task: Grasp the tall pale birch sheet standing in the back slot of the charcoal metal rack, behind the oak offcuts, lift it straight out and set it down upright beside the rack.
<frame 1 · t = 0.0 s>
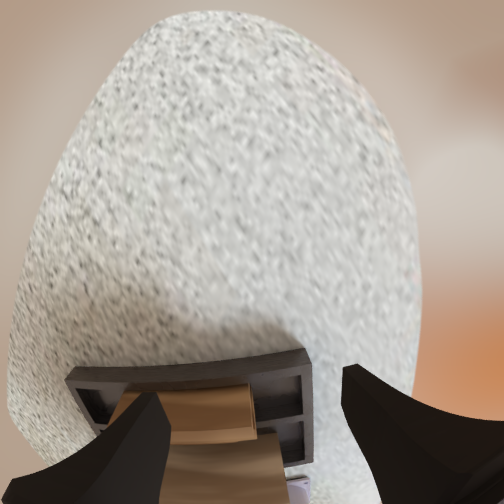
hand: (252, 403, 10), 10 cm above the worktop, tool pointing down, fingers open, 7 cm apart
oak offcuts: (184, 397, 20), point 1 cm above the worktop, touching rack
birch sheet: (203, 444, 22), point 1 cm above the worktop, touching rack
rack: (196, 420, 22), on the worktop
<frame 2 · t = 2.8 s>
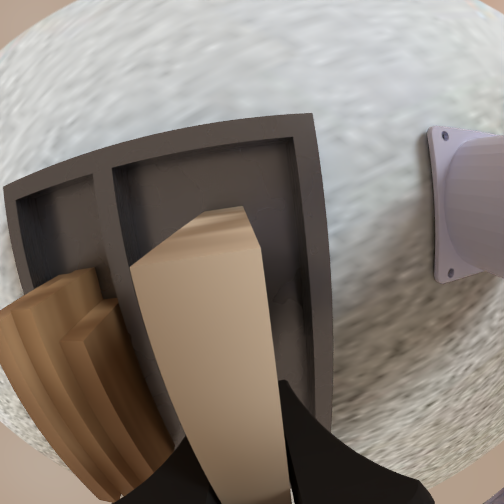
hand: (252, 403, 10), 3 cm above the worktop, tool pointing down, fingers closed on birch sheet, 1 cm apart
oak offcuts: (119, 372, 12), point 1 cm above the worktop, touching rack
birch sheet: (248, 363, 12), point 1 cm above the worktop, touching gripper, rack
rack: (187, 363, 13), on the worktop
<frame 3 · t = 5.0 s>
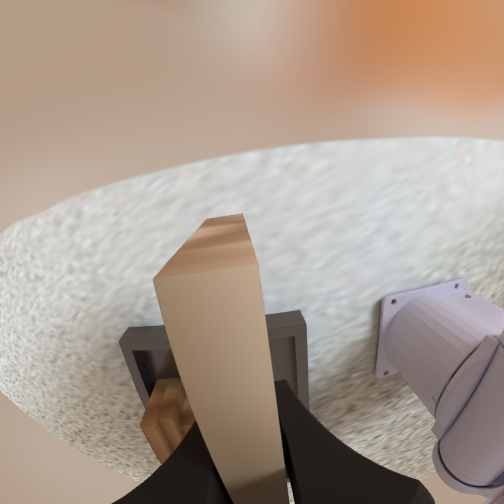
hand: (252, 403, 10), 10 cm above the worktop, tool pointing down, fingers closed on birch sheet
oak offcuts: (191, 423, 22), point 1 cm above the worktop, touching rack
birch sheet: (248, 360, 13), point 7 cm above the worktop, touching gripper
rack: (231, 417, 22), on the worktop
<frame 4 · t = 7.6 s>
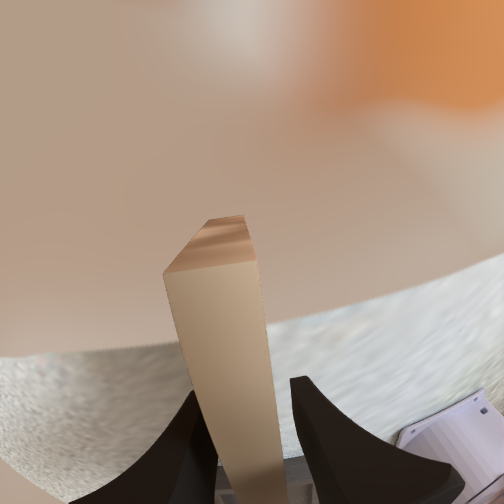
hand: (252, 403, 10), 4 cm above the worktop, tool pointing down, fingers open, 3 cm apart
birch sheet: (248, 357, 14), on the worktop
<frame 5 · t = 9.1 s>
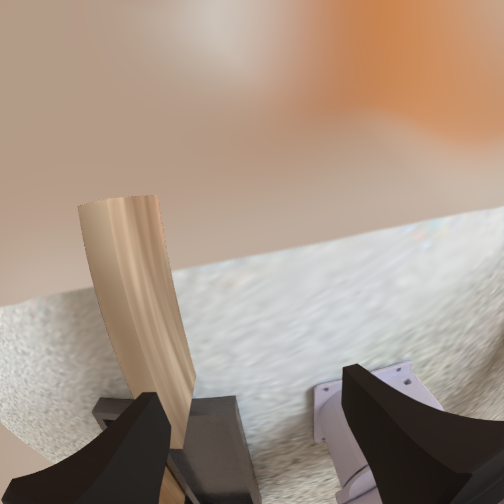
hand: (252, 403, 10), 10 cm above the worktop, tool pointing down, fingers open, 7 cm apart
oak offcuts: (159, 465, 23), point 1 cm above the worktop, touching rack
birch sheet: (166, 295, 20), on the worktop
rack: (190, 462, 23), on the worktop
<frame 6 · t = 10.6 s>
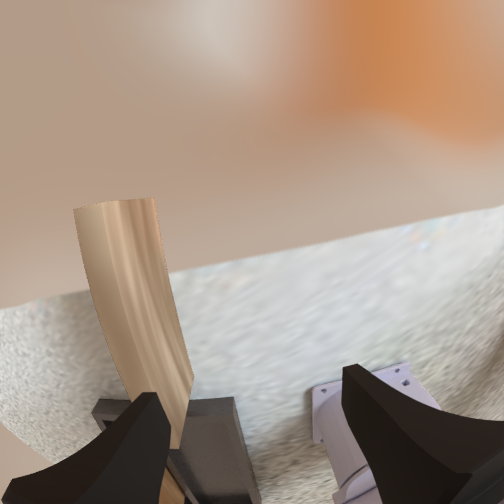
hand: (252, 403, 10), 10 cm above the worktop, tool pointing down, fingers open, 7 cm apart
oak offcuts: (158, 466, 23), point 1 cm above the worktop, touching rack
birch sheet: (163, 297, 20), on the worktop
rack: (190, 463, 23), on the worktop
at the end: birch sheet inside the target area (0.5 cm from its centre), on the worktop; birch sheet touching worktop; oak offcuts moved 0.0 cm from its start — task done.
